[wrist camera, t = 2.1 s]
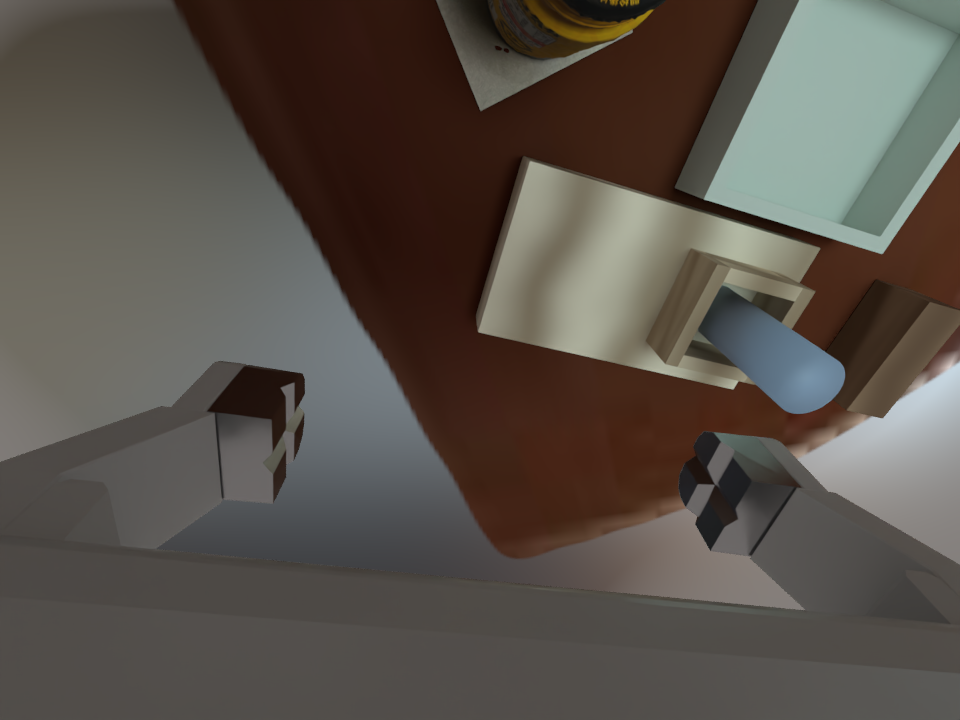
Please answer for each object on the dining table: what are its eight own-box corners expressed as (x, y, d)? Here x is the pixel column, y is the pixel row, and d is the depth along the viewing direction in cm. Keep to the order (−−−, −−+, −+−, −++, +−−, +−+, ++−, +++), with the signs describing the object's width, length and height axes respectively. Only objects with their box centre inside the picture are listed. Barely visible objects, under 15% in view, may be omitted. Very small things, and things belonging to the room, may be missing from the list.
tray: (674, 187, 28) (703, 199, 25) (784, -60, 23) (839, -85, 19) (836, 237, 30) (882, 254, 27) (971, 23, 25) (1048, 11, 22)
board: (475, 315, 31) (481, 355, 26) (522, 155, 26) (540, 168, 22) (714, 370, 34) (758, 415, 29) (793, 237, 30) (860, 264, 25)
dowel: (678, 324, 29) (764, 406, 22) (701, 279, 28) (802, 350, 20) (720, 334, 30) (818, 419, 22) (745, 291, 29) (859, 364, 21)
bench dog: (806, 379, 35) (846, 410, 32) (876, 279, 32) (930, 302, 28) (839, 387, 36) (882, 418, 32) (911, 289, 32) (968, 313, 29)
